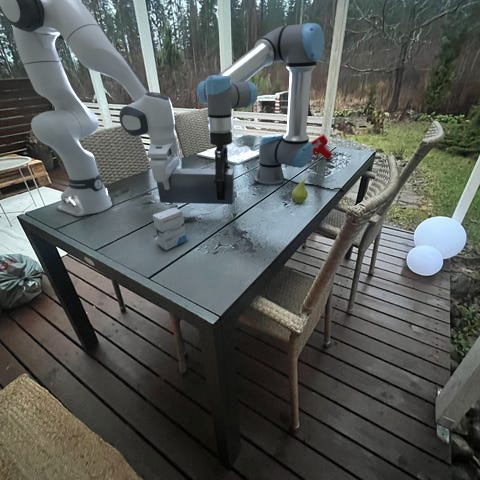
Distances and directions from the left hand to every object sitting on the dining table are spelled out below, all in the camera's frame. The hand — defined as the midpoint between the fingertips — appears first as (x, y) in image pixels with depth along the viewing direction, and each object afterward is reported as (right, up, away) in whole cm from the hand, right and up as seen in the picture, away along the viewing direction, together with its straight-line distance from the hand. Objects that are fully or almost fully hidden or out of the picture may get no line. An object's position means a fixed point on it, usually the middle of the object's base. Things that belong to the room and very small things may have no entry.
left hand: (170, 185), depth 100 cm
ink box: (+2, -21, -6) cm, 22 cm away
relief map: (+19, +38, +86) cm, 96 cm away
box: (+10, -5, +3) cm, 11 cm away
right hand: (+19, -3, 0) cm, 20 cm away
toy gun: (+75, +33, +78) cm, 113 cm away
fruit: (+52, -3, +22) cm, 57 cm away
